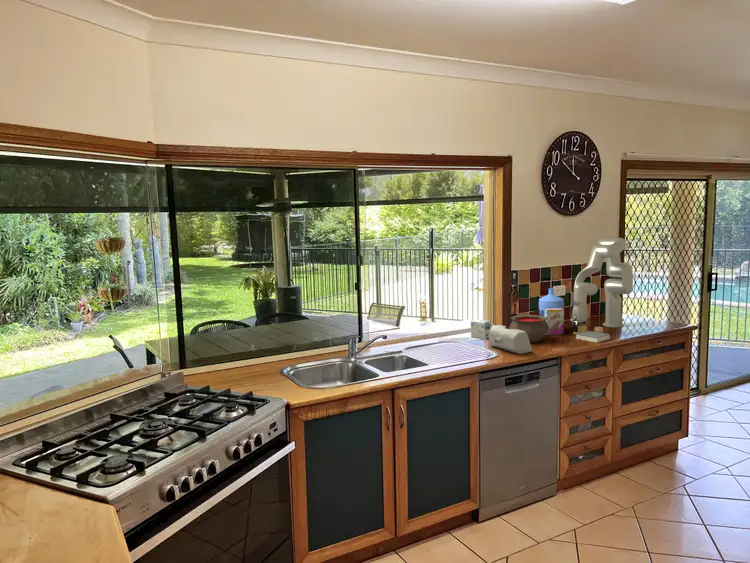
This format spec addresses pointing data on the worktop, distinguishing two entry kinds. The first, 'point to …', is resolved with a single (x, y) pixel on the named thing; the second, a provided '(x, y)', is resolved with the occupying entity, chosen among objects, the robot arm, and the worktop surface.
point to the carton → (581, 328)
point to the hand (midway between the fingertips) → (579, 330)
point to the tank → (509, 339)
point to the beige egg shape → (598, 329)
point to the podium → (593, 336)
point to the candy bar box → (555, 321)
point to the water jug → (550, 302)
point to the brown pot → (531, 326)
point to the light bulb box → (480, 329)
